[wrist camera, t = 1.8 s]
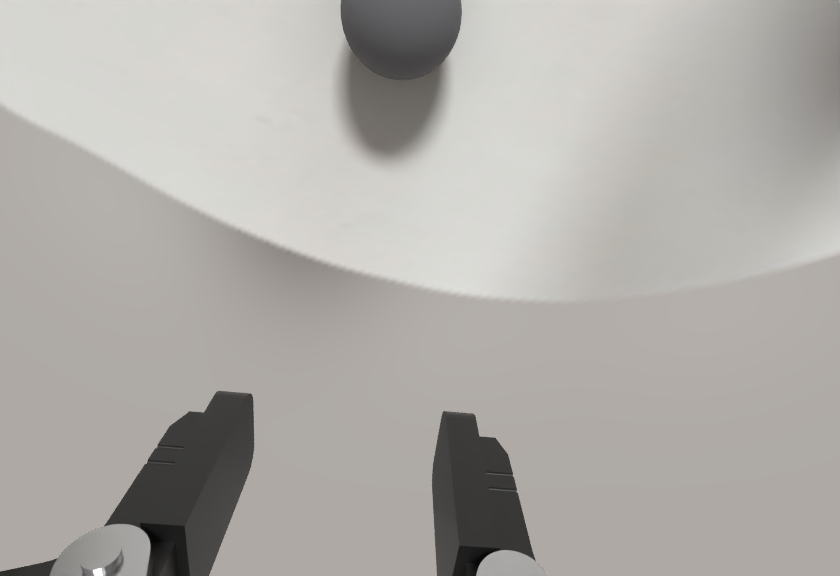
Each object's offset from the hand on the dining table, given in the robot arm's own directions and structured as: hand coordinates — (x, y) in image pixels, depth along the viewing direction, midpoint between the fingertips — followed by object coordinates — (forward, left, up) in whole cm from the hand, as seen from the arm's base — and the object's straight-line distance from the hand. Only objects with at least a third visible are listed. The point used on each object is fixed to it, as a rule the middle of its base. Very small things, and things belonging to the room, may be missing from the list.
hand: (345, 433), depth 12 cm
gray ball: (0, -10, -17) cm, 19 cm away
